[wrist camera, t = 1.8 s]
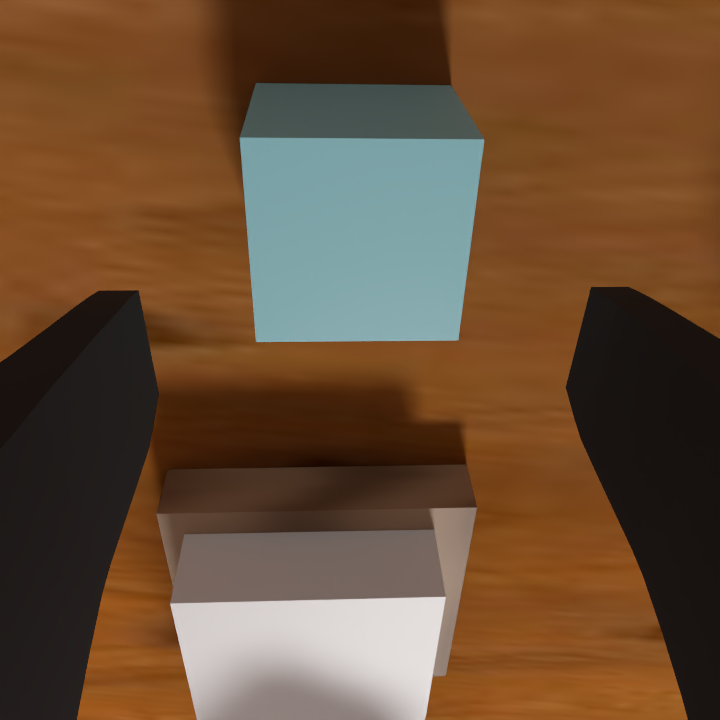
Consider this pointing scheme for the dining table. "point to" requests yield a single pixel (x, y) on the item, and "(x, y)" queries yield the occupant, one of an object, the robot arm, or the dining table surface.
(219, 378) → the dining table surface
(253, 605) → the white slab
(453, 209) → the teal cube
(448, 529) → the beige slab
